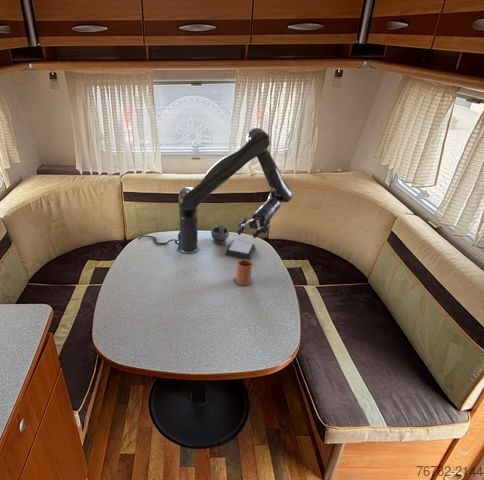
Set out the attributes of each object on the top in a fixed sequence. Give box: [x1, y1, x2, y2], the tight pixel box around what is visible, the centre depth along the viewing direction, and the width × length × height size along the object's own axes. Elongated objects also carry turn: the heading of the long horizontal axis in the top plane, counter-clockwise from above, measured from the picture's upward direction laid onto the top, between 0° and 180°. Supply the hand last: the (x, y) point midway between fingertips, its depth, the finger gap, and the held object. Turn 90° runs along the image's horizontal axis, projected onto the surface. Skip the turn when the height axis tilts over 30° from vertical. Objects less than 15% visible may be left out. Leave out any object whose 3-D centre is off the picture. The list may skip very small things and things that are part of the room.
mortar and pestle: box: [210, 225, 230, 245], centre depth 191 cm, size 11×9×12 cm
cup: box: [235, 258, 253, 287], centre depth 160 cm, size 6×6×10 cm
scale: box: [225, 239, 256, 261], centre depth 185 cm, size 12×12×3 cm
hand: (245, 235), depth 161 cm, fingers open, 8 cm apart
